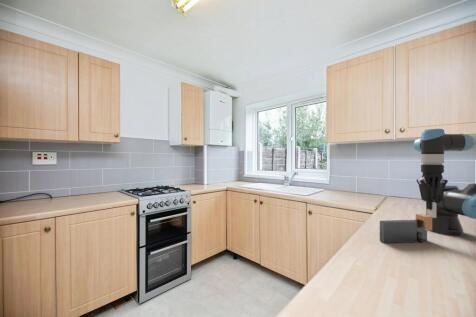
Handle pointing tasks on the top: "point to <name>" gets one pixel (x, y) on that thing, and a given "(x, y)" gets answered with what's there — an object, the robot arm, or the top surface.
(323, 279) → the top surface
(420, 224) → the arm
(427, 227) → the orange slotted clip
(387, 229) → the tongs hinged arm
